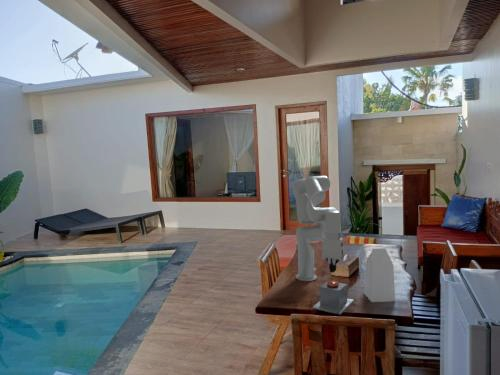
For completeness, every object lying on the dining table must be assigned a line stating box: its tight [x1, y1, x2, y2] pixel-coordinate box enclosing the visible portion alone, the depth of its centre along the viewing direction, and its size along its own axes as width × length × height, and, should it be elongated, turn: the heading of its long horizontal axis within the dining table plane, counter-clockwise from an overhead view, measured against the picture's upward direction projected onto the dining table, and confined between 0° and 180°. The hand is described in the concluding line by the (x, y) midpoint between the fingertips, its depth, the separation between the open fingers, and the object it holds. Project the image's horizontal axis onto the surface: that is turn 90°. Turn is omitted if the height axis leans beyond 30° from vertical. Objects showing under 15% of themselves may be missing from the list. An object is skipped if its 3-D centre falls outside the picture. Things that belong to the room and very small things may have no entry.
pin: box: [326, 280, 340, 288], centre depth 194 cm, size 6×6×10 cm
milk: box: [363, 247, 396, 303], centre depth 201 cm, size 12×12×26 cm
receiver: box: [312, 280, 355, 316], centre depth 194 cm, size 18×14×10 cm
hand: (332, 271), depth 194 cm, fingers closed
